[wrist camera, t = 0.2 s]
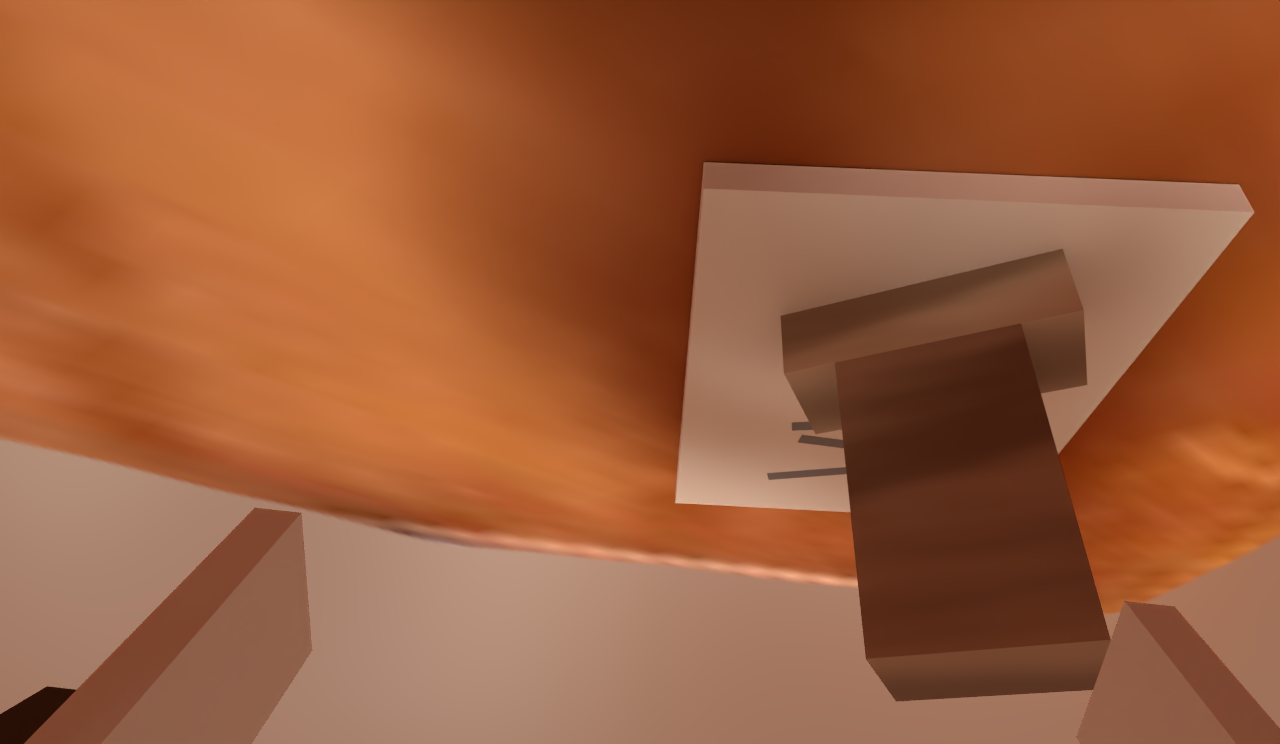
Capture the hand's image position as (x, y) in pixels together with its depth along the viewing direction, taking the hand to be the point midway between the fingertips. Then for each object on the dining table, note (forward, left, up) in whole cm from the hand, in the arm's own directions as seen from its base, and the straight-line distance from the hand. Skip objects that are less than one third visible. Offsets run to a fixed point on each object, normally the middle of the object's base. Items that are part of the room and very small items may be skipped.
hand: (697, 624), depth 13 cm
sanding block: (+9, +8, -14) cm, 19 cm away
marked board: (+13, +8, -15) cm, 22 cm away
